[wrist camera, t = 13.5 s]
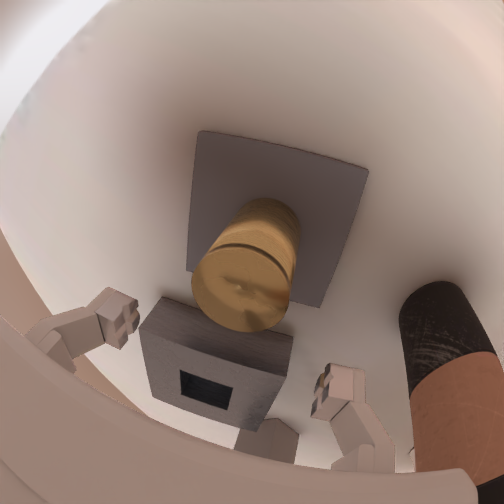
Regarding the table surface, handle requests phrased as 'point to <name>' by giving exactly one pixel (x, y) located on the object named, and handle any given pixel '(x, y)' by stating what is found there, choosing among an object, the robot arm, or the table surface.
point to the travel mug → (454, 388)
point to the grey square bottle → (269, 441)
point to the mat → (280, 188)
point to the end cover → (250, 268)
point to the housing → (212, 365)
